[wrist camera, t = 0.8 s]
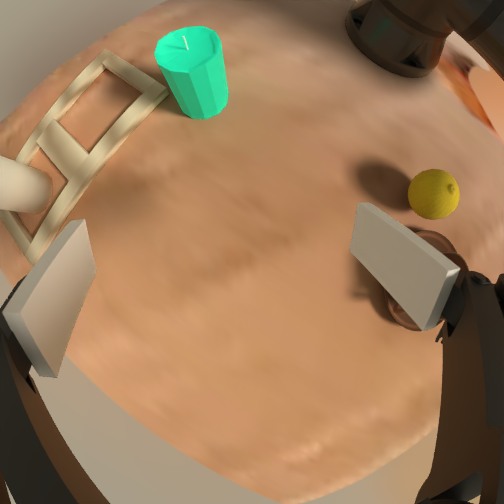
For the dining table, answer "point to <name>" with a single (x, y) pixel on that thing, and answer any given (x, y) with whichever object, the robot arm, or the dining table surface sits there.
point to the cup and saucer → (447, 250)
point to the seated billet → (23, 187)
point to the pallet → (79, 147)
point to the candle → (194, 70)
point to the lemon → (433, 194)
